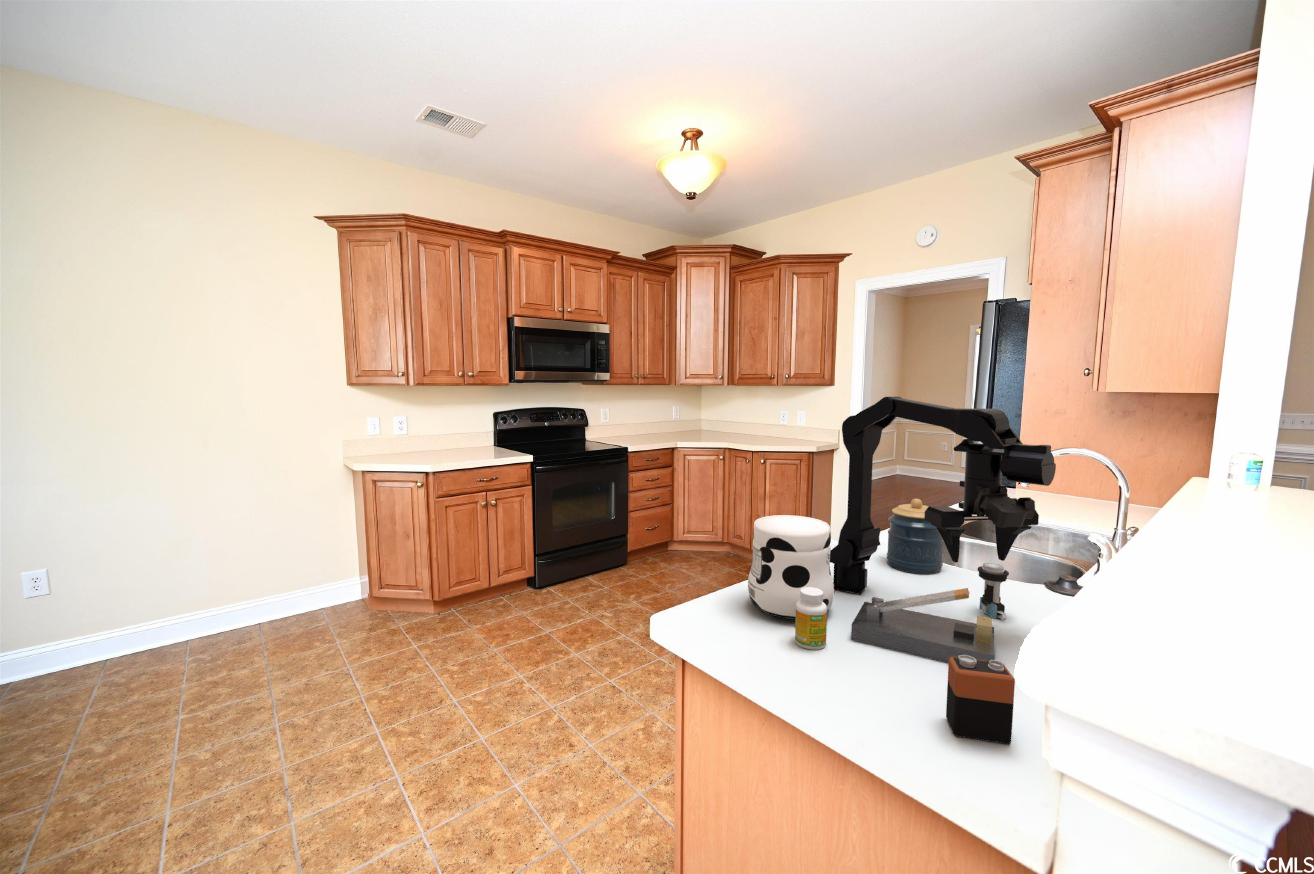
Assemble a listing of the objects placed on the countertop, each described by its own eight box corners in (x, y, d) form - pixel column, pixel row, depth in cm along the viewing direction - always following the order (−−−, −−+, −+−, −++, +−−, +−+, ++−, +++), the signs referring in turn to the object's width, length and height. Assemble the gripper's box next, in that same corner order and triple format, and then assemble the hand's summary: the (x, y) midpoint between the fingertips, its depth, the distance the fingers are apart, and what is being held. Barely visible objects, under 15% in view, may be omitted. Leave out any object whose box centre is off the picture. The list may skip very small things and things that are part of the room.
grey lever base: (851, 640, 97) (852, 608, 96) (864, 615, 107) (865, 587, 107) (993, 673, 85) (995, 637, 85) (993, 643, 96) (995, 610, 95)
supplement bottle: (809, 653, 92) (811, 599, 91) (788, 640, 97) (789, 588, 96) (832, 646, 95) (834, 593, 94) (811, 633, 99) (812, 583, 99)
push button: (1017, 622, 104) (1020, 572, 103) (990, 622, 104) (992, 572, 103) (995, 607, 111) (997, 561, 110) (969, 608, 111) (972, 561, 110)
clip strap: (871, 614, 99) (869, 608, 99) (874, 608, 102) (872, 602, 102) (969, 599, 90) (966, 592, 90) (969, 593, 93) (967, 586, 93)
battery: (945, 717, 74) (948, 649, 73) (1000, 725, 72) (1004, 655, 71) (953, 737, 70) (957, 664, 69) (1012, 746, 68) (1016, 672, 67)
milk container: (847, 606, 112) (849, 522, 110) (809, 635, 99) (811, 540, 97) (773, 586, 123) (775, 510, 122) (731, 609, 110) (732, 524, 109)
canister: (886, 555, 145) (888, 492, 143) (940, 561, 140) (943, 495, 138) (886, 570, 133) (889, 501, 132) (945, 578, 128) (948, 506, 126)
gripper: (964, 487, 88) (960, 578, 90) (1067, 484, 90) (1061, 574, 91) (924, 476, 99) (920, 557, 101) (1017, 473, 101) (1012, 554, 102)
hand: (978, 561), depth 98 cm, fingers open, 9 cm apart
